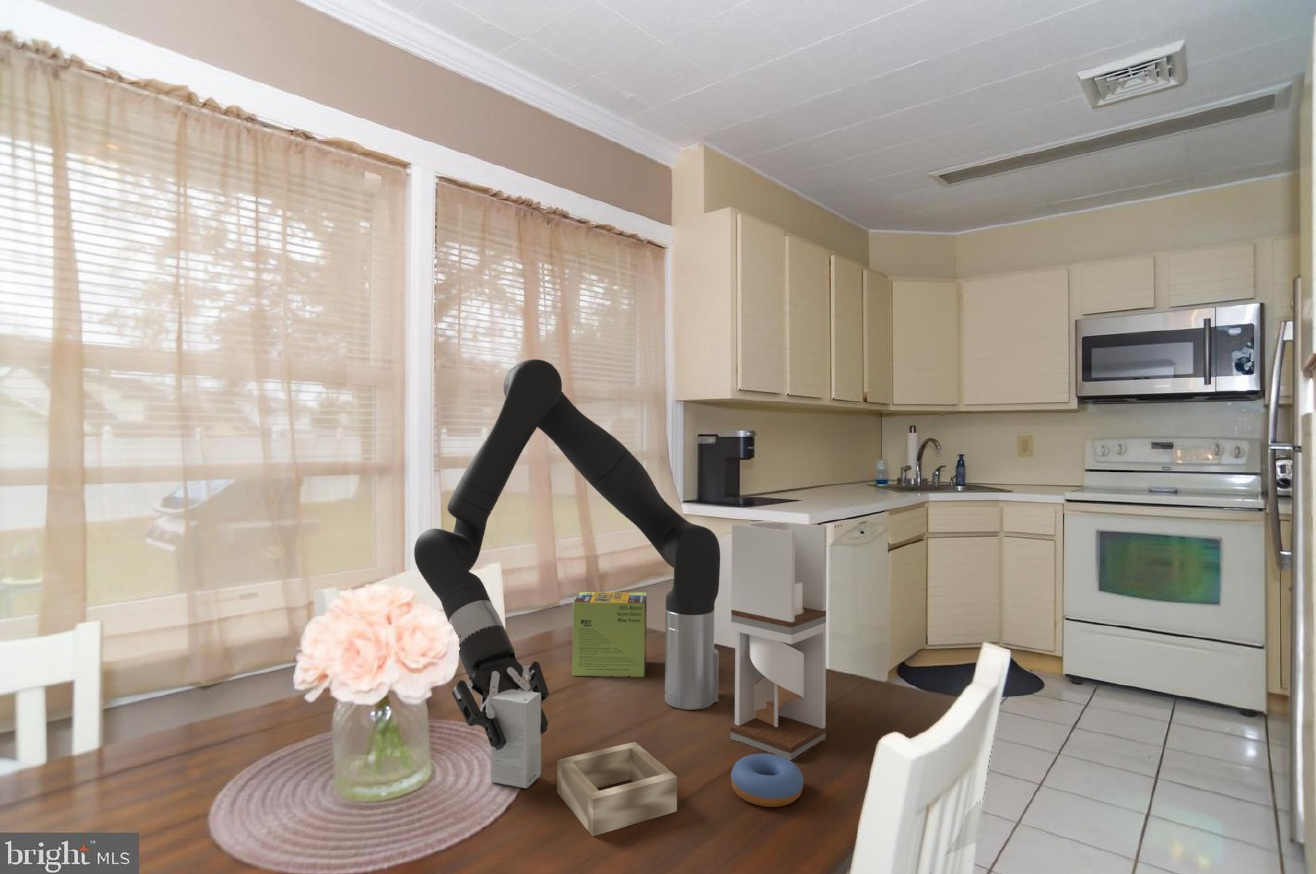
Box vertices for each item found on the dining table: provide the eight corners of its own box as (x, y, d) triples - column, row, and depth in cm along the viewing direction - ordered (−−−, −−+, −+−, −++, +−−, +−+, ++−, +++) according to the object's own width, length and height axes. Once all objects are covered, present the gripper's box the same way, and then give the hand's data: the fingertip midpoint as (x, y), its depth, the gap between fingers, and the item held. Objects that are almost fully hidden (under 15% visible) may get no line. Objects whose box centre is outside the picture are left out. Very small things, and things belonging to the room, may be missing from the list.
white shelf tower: (730, 739, 111) (731, 525, 112) (766, 720, 119) (768, 520, 120) (790, 761, 103) (791, 531, 104) (825, 739, 111) (826, 526, 112)
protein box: (645, 677, 141) (645, 602, 141) (571, 676, 141) (571, 601, 141) (646, 661, 151) (647, 591, 151) (577, 660, 151) (578, 591, 152)
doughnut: (787, 818, 87) (787, 780, 88) (718, 800, 92) (718, 765, 93) (813, 793, 95) (813, 759, 96) (748, 778, 101) (748, 745, 101)
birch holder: (634, 772, 99) (634, 741, 99) (676, 811, 89) (677, 776, 89) (557, 792, 93) (557, 759, 93) (592, 836, 83) (593, 799, 83)
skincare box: (541, 775, 98) (542, 692, 98) (526, 790, 94) (527, 703, 94) (505, 768, 100) (506, 687, 100) (488, 782, 96) (489, 697, 96)
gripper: (445, 633, 97) (487, 742, 89) (530, 616, 107) (575, 712, 99) (428, 661, 101) (467, 769, 92) (511, 642, 111) (553, 737, 103)
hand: (522, 739), depth 96 cm, fingers closed on skincare box, 6 cm apart
